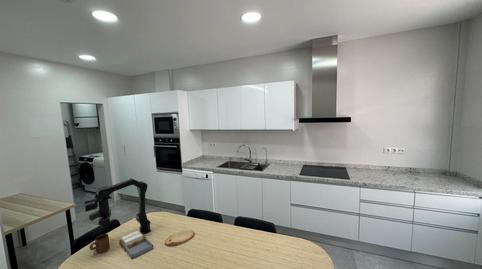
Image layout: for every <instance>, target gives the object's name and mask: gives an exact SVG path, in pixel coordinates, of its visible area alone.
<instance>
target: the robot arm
mask: <svg viewBox="0 0 482 269" xmlns="http://www.w3.org/2000/svg"><path fill="white" fill-rule="evenodd" d="M130 186H134V187H136V189H137V194H138V212H137V213H136V214H135V220H136V221H137V223H139V232H141V233H142V234H144V235H145V234H148V233H150V232H152V229H151V223H152V222H151V220H149V218H148V215H147V212H146V192H147V190H148V184H147V183H146V182H145V181H142V180H141V181H139V180H136V179H133V178H129V179H127V180H124V181H120V182H118V183H115V184H113V185H107V186H102V187H99V188H98V189H97V190H96V193H95V195H94V197H93V199H88V200H84V201H83V210H84V212H85V213H86V212H91V211H93V210H96V211H94V212H92V213H90V214H89V215H88V218H89V219H88V220H89V221H91V222H92V221H94V220H96V219H97V218H98V219H99V220H98V223H97V224H98V226H102V228H103V230H104V232H105V233H107V231H108V229H109V226H110V224H111V215H112V209H111V208H110V202H109V200H110V199H113V198H112V196H111V195H112V194H113V193H114V192H117V191H119V190H121V189H124V188H127V187H130ZM97 208H98V210H97Z"/></svg>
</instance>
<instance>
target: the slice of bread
mask: <svg viewBox="0 0 482 269" xmlns="http://www.w3.org/2000/svg"><path fill="white" fill-rule="evenodd" d="M195 235H196V234H195V231H193V229H190V230H184V231H181V232H177V233H174V234H171V235H170V236H168V237H167V238H166V240H165V241H164V246H166V247H178V246H181V245H183V244H186V243H187V242H189V241H191V240H192V239H193V238H194V237H195Z"/></svg>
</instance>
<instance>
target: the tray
mask: <svg viewBox="0 0 482 269" xmlns="http://www.w3.org/2000/svg"><path fill="white" fill-rule="evenodd" d="M125 248H126V251H125V252H126V254H127V255H128V257H129V258H130V259H131V260H134V259H136V258H139V257H140V256H142V255H144V254H146V253H148V252H150V251H152V250H154V248H155V247H154V243H152V241H151V240H150V239H148V238H145V242H143V243H141V244H139V245H137V246H134V247H132V248H130V249H128V247H125Z"/></svg>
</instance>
